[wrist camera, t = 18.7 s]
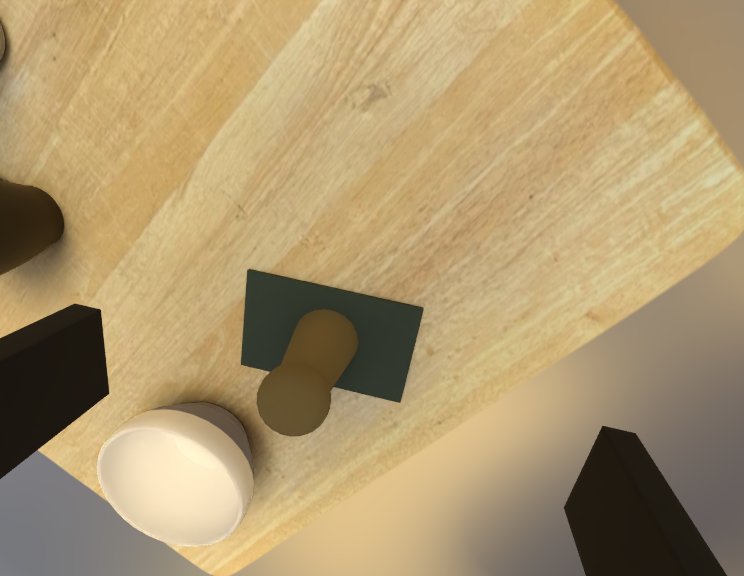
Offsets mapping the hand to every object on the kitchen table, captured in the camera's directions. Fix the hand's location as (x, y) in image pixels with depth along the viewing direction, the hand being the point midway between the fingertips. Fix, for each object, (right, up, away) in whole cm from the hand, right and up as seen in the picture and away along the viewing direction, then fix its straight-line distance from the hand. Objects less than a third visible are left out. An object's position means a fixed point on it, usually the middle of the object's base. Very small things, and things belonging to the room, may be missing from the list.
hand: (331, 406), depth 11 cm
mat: (-3, -1, +27) cm, 28 cm away
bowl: (-16, -13, +34) cm, 40 cm away
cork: (-3, -2, +27) cm, 27 cm away
